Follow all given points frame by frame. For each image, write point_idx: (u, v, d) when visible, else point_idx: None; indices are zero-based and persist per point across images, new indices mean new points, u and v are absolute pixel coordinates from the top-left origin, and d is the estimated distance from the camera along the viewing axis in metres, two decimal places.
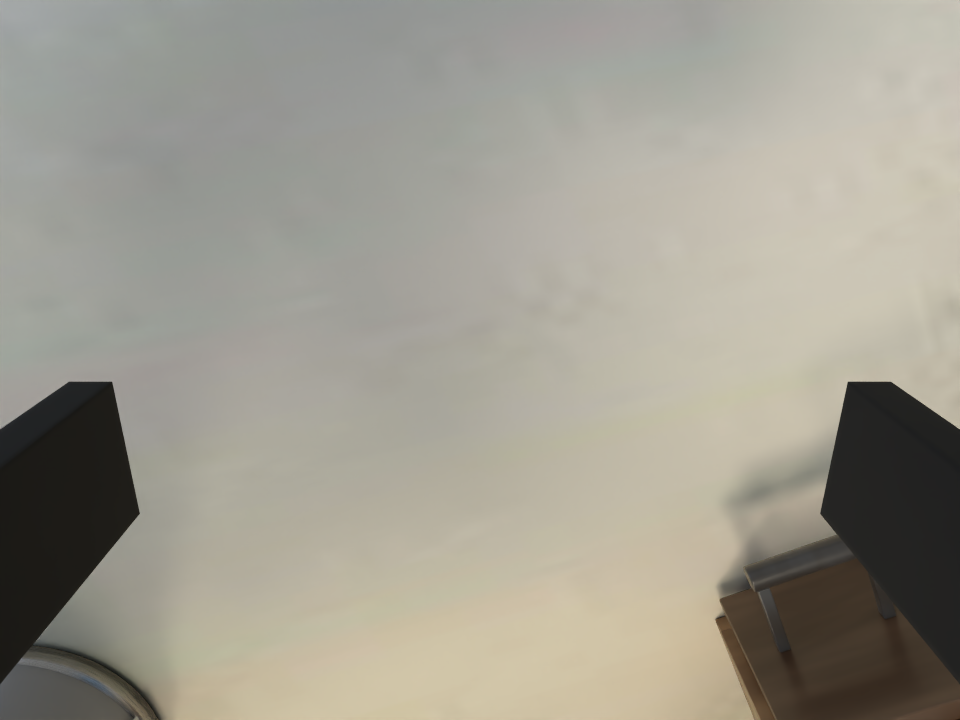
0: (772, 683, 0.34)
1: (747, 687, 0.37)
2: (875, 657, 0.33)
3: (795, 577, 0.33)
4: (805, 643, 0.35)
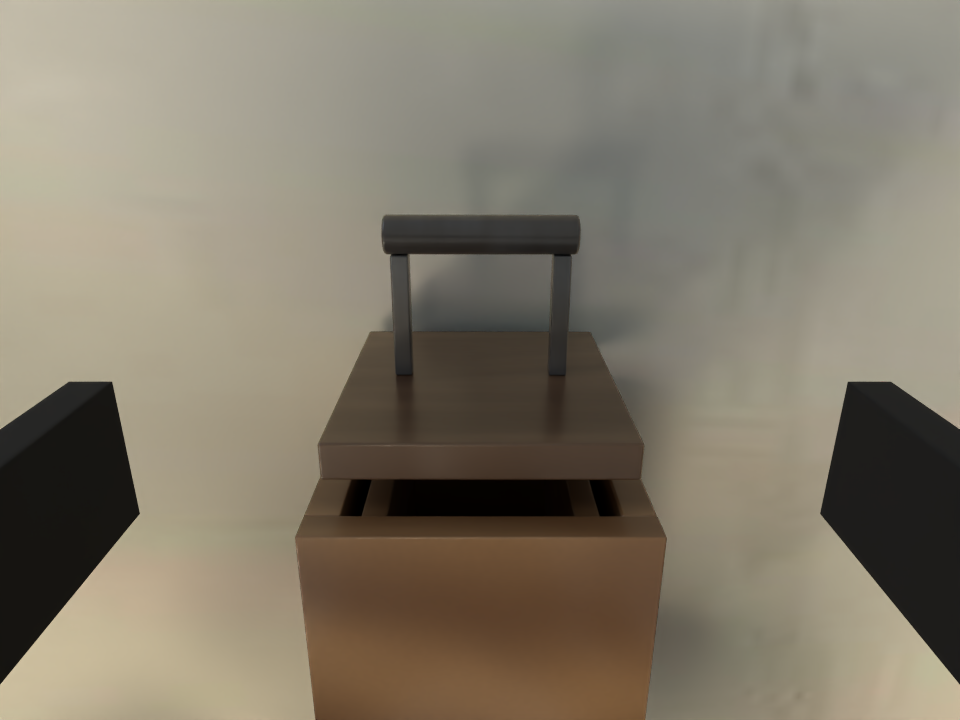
0: (358, 393, 0.23)
1: None
2: (508, 397, 0.22)
3: (445, 245, 0.22)
4: (434, 374, 0.24)
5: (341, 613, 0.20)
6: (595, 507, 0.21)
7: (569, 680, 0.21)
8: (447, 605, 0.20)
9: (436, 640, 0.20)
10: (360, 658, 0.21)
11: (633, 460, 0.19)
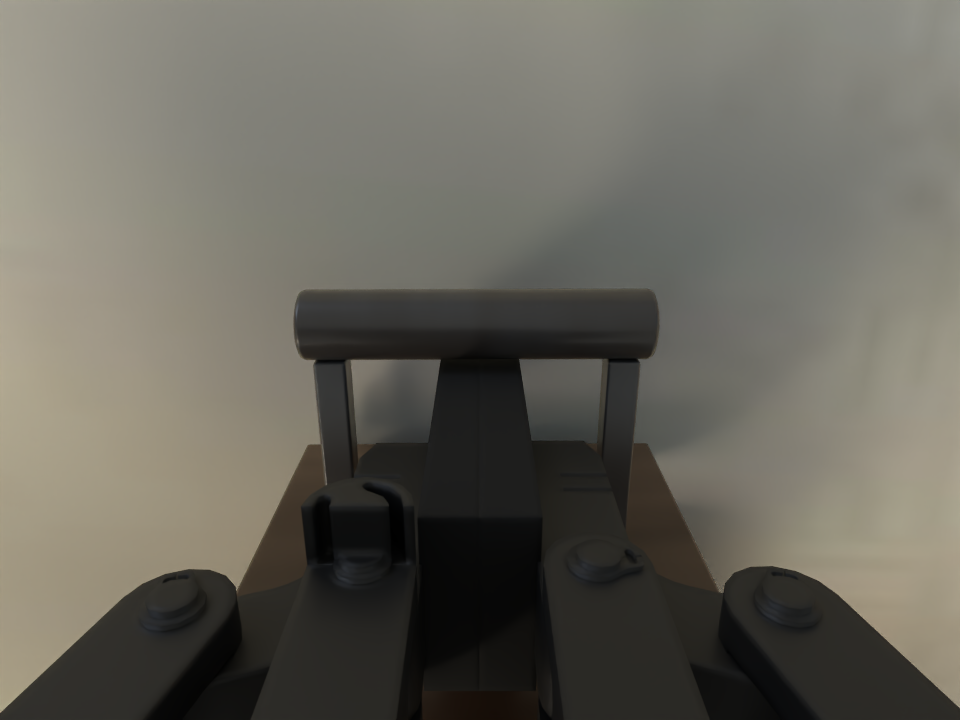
0: None
1: None
2: None
3: (411, 348, 0.12)
4: None
5: None
6: None
7: None
8: None
9: None
10: None
11: None
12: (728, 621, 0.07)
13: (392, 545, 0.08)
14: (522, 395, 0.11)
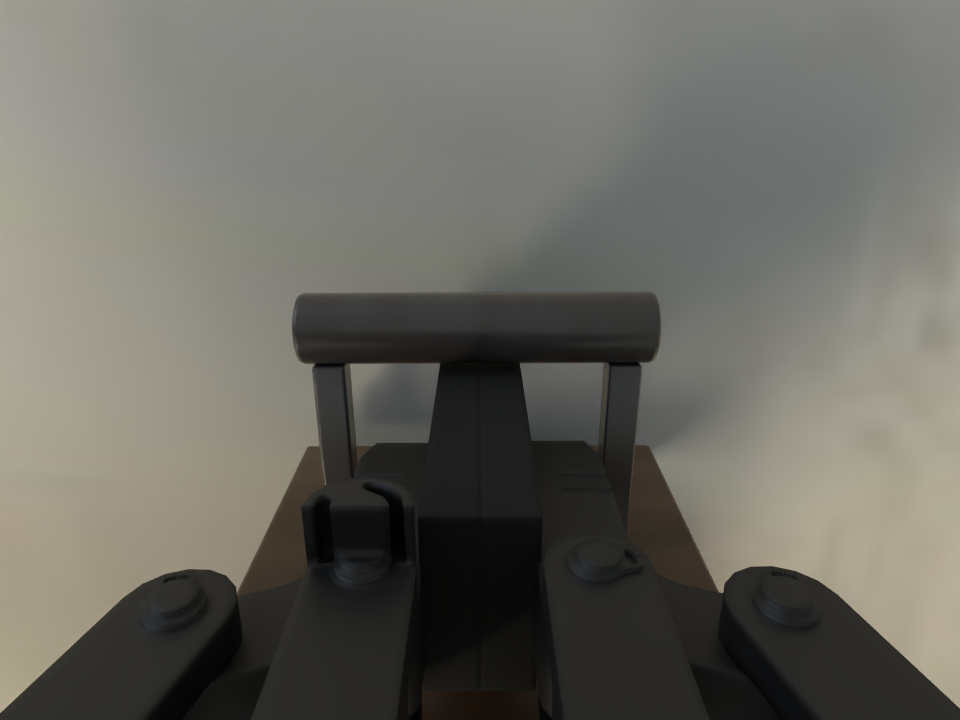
0: None
1: None
2: None
3: (411, 352, 0.12)
4: None
5: None
6: None
7: None
8: None
9: None
10: None
11: None
12: (728, 621, 0.07)
13: (392, 545, 0.08)
14: (522, 395, 0.11)
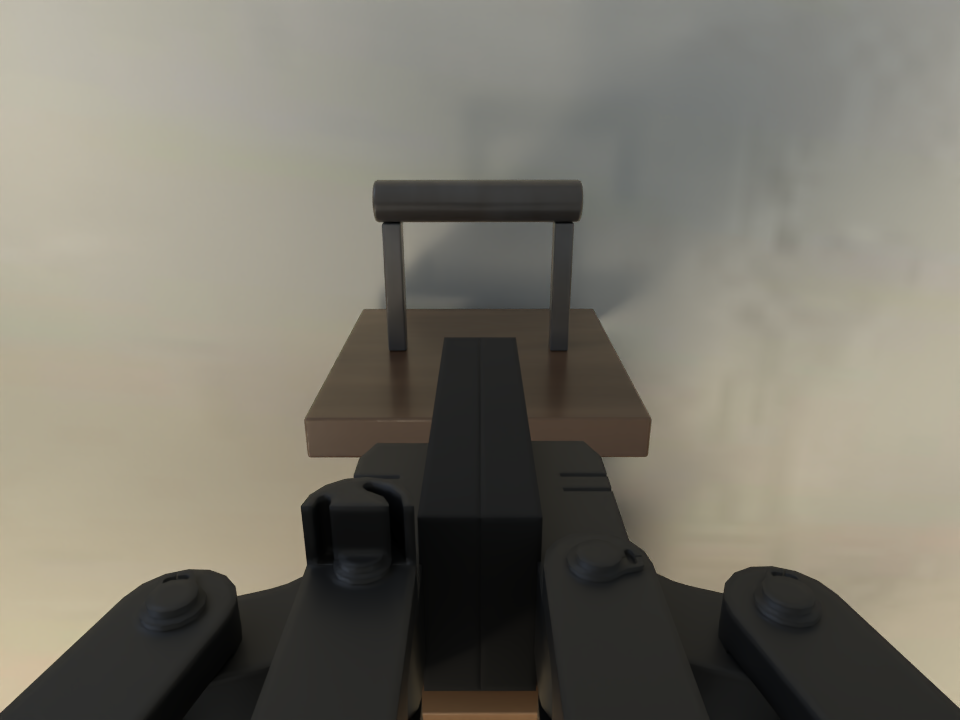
0: (348, 368, 0.21)
1: None
2: None
3: (440, 212, 0.21)
4: (429, 350, 0.23)
5: None
6: None
7: None
8: None
9: None
10: None
11: (640, 435, 0.18)
12: (728, 621, 0.07)
13: (392, 545, 0.08)
14: (522, 395, 0.11)
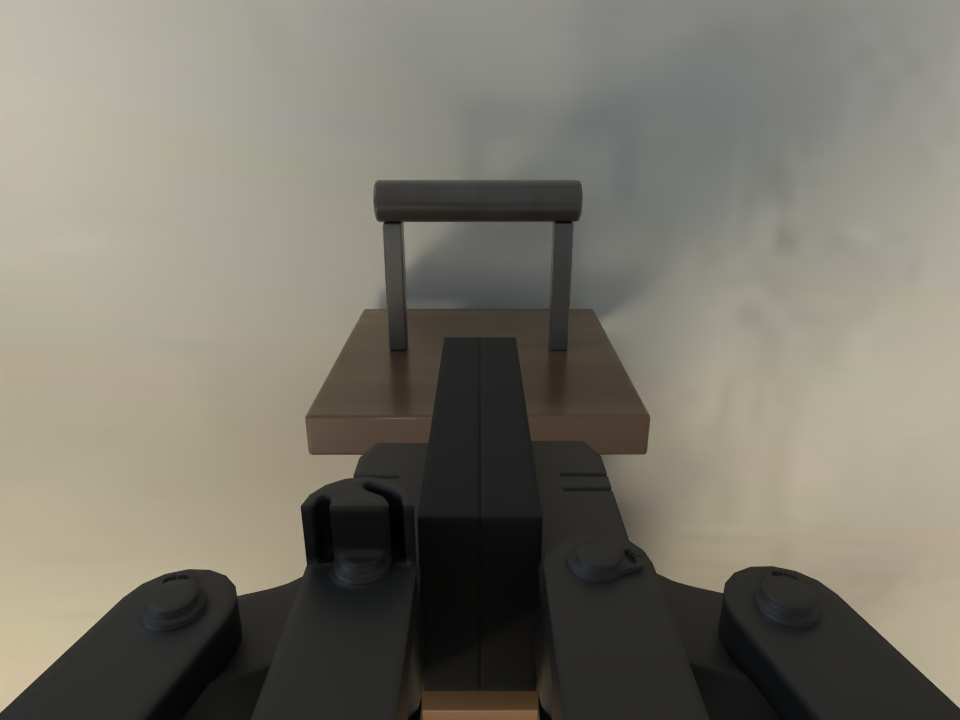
0: (349, 367, 0.22)
1: None
2: None
3: (440, 212, 0.21)
4: (429, 349, 0.23)
5: None
6: None
7: None
8: None
9: None
10: None
11: (638, 433, 0.18)
12: (728, 621, 0.07)
13: (392, 545, 0.08)
14: (522, 395, 0.11)
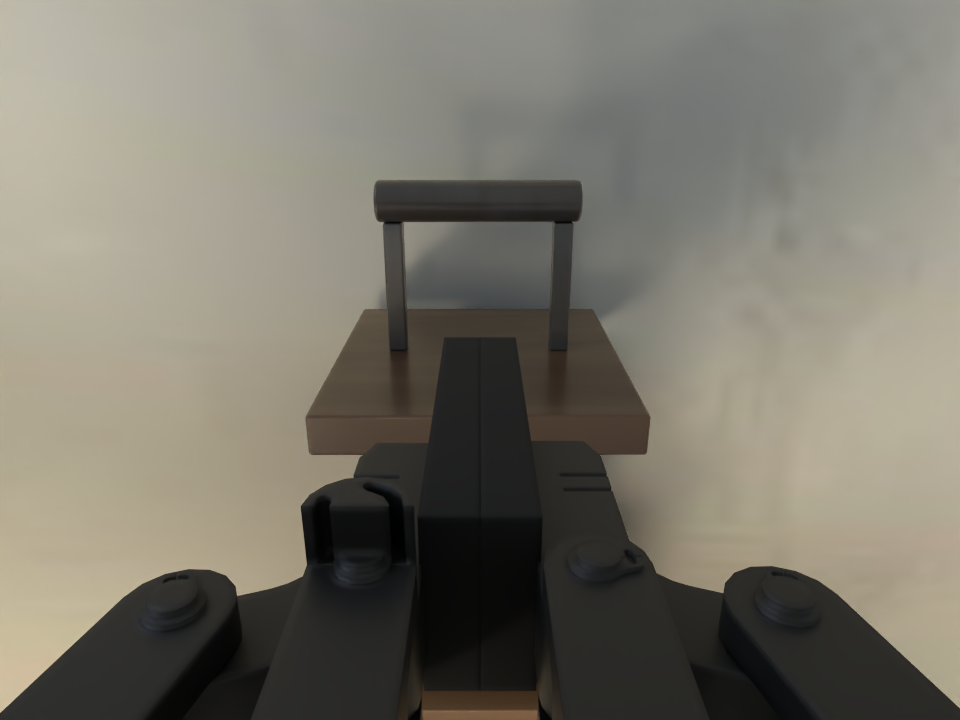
0: (349, 367, 0.22)
1: None
2: None
3: (440, 212, 0.21)
4: (430, 349, 0.23)
5: None
6: None
7: None
8: None
9: None
10: None
11: (639, 433, 0.18)
12: (728, 621, 0.07)
13: (392, 545, 0.08)
14: (522, 395, 0.11)
